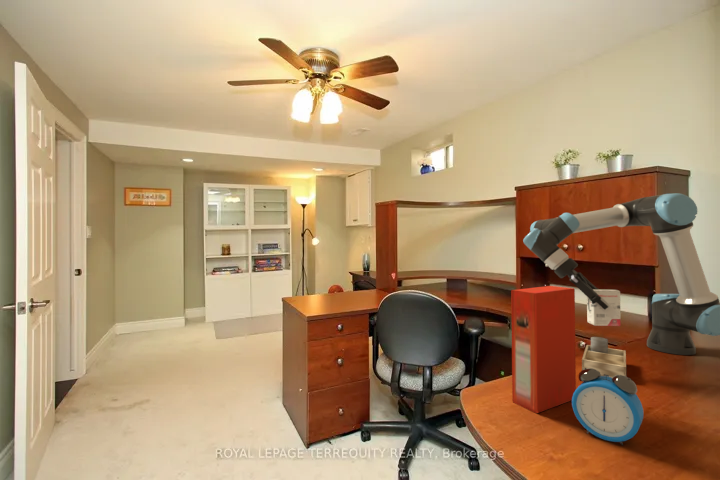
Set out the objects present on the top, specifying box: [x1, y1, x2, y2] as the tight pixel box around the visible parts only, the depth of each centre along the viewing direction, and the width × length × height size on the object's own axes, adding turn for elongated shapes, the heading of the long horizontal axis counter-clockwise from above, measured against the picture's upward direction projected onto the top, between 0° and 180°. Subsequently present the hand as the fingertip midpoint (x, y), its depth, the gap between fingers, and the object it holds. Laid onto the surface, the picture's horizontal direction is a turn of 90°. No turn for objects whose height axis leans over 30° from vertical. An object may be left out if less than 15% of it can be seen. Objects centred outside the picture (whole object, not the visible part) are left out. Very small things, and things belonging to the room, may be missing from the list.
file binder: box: [510, 285, 577, 414], centre depth 100 cm, size 8×17×32 cm, turn 118°
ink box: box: [586, 288, 622, 327], centre depth 120 cm, size 9×5×12 cm, turn 84°
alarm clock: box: [571, 368, 644, 447], centre depth 82 cm, size 13×6×15 cm, turn 44°
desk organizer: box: [581, 336, 627, 378], centre depth 124 cm, size 12×20×9 cm, turn 143°
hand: (615, 313), depth 118 cm, fingers closed on ink box, 8 cm apart
